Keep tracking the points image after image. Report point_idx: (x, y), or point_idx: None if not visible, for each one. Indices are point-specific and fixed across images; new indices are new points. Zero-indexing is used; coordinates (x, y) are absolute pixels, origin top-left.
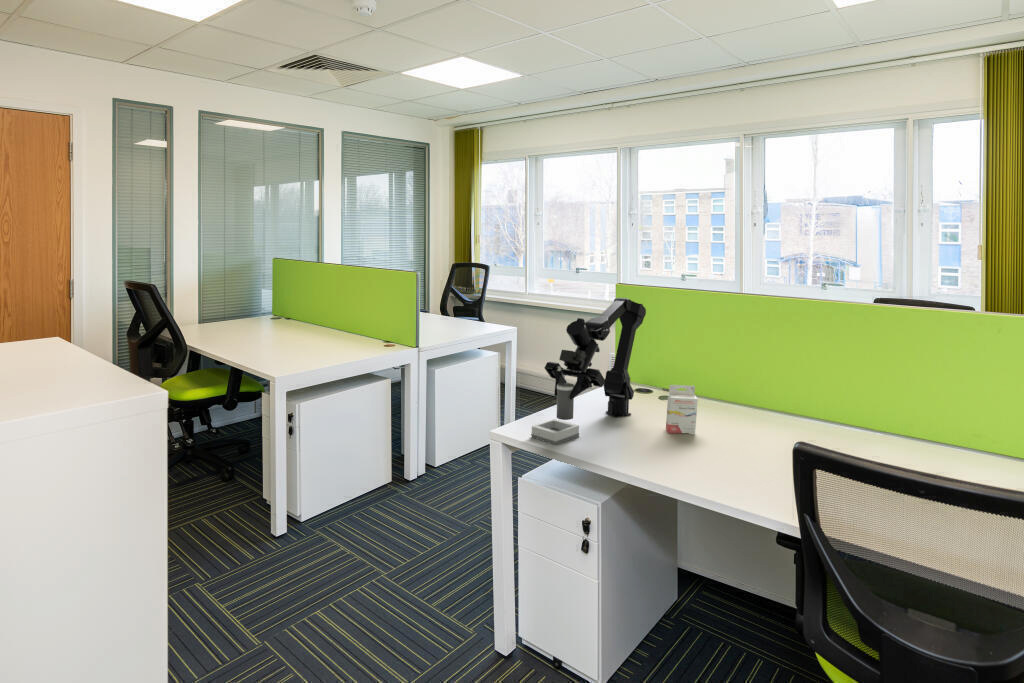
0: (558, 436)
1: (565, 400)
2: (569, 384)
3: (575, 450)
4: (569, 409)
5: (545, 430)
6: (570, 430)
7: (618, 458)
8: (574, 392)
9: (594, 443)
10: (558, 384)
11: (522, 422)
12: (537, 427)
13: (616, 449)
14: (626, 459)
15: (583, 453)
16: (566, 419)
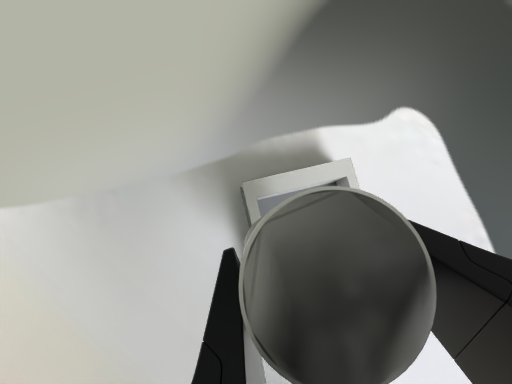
0: (245, 197)
1: (254, 227)
2: (345, 347)
3: (171, 210)
4: (243, 249)
5: (289, 171)
6: None
7: (40, 280)
8: (214, 298)
9: (187, 305)
10: (401, 232)
11: (474, 225)
12: (328, 165)
13: (102, 332)
14: (17, 297)
15: (137, 214)
16: (247, 232)
